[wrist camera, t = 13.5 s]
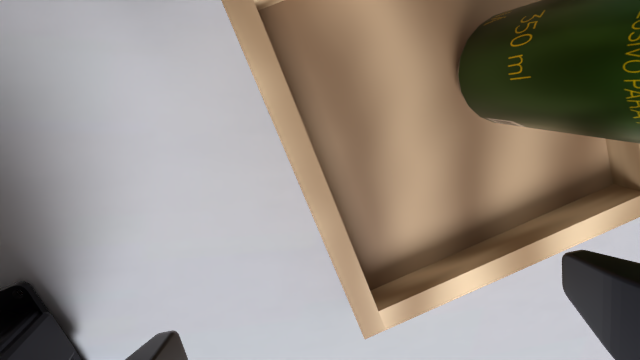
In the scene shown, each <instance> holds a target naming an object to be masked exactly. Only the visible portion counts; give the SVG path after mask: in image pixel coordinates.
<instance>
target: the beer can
mask: <svg viewBox="0 0 640 360" xmlns="http://www.w3.org/2000/svg"><path fill="white" fill-rule="evenodd" d="M457 79H458V85H459V90H460V92H461V93H462V95H463V97H464V99H465V101H466V103H467V105H468V106H469V107H470V108H471V109H472V110H473V111H474V112H475V113H476V114H477V115H478V116H479V117H481V118H484V119H486V120H489V121H491V122H493V123H500V124H507V125H514V126H521V127H528V128H535V129H542V130H549V131H556V132H563V133H570V134H577V135H584V136H591V137H598V138H605V139H612V140H619V141H626V142H633V143H640V0H541V1H538V2H534V3H531V4H528V5H525V6H522V7H519V8H516V9H513V10H509V11H506V12H503V13H500V14H497V15H494V16H492V17H491V18H489V19H488V20H486V21H485V22H483V23H482V24H480V25H479V26H478V27H477V29H476V30H475V31H474V32H473V34H472V35H471V36H470V37H469V39H468V40H467V42H466V44H465V46H464V48H463V50H462V53H461V55H460V57H459V61H458V69H457Z"/></svg>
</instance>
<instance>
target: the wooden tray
mask: <svg viewBox="0 0 640 360" xmlns="http://www.w3.org/2000/svg"><path fill="white" fill-rule="evenodd" d="M538 1H541V0H222V3H223V5H224V8H225V10H226V12H227V15H228V17H229V19H230V22H231V24H232V26H233V29H234V31H235V34H236V36H237V38H238V41H239V43H240V45H241V48H242V50H243V52H244V55H245V57H246V60H247V62H248V64H249V67H250V69H251V71H252V74H253V76H254V78H255V81H256V83H257V86H258V88H259V90H260V93H261V95H262V97H263V100H264V102H265V105H266V107H267V109H268V112H269V114H270V116H271V119H272V121H273V123H274V126H275V128H276V131H277V133H278V135H279V138H280V140H281V142H282V145H283V147H284V149H285V152H286V154H287V157H288V159H289V161H290V164H291V166H292V168H293V171H294V173H295V175H296V178H297V180H298V183H299V185H300V187H301V190H302V192H303V194H304V197H305V199H306V201H307V204H308V206H309V209H310V211H311V213H312V216H313V218H314V220H315V223H316V225H317V227H318V230H319V232H320V235H321V237H322V239H323V242H324V244H325V246H326V249H327V251H328V253H329V256H330V258H331V261H332V263H333V265H334V268H335V270H336V272H337V275H338V277H339V279H340V282H341V284H342V287H343V289H344V291H345V294H346V296H347V298H348V301H349V303H350V305H351V308H352V310H353V313H354V315H355V317H356V320H357V322H358V324H359V327H360V329H361V331H362V334H363V336H364V339H367V338H369V337H371V336H373V335H376V334H378V333H380V332H382V331H385V330H387V329H389V328H391V327H394V326H396V325H398V324H400V323H403V322H405V321H407V320H409V319H412V318H414V317H416V316H418V315H421V314H423V313H425V312H427V311H430V310H432V309H434V308H436V307H439V306H441V305H443V304H445V303H448V302H450V301H452V300H454V299H457V298H459V297H461V296H463V295H466V294H468V293H470V292H472V291H475V290H477V289H479V288H481V287H483V286H486V285H488V284H490V283H492V282H495V281H497V280H499V279H501V278H504V277H506V276H508V275H510V274H513V273H515V272H517V271H519V270H522V269H524V268H526V267H528V266H531V265H533V264H535V263H537V262H540V261H542V260H544V259H546V258H549V257H551V256H553V255H555V254H558V253H560V252H562V251H564V250H567V249H569V248H571V247H573V246H576V245H578V244H580V243H582V242H585V241H587V240H589V239H591V238H594V237H596V236H598V235H600V234H603V233H605V232H607V231H609V230H611V229H614V228H616V227H618V226H620V225H623V224H625V223H627V222H629V221H632V220H634V219H636V218H638V217H640V143H633V142H626V141H619V140H612V139H605V138H598V137H591V136H584V135H577V134H570V133H563V132H556V131H549V130H542V129H535V128H528V127H521V126H514V125H507V124H500V123H493V122H491V121H489V120H486V119H484V118H481V117H479V116H478V115H477V114H476V113H475V112H474V111H473V110H472V109H471V108H470V107H469V106H468V105H467V103H466V101H465V99H464V97H463V95H462V93H461V92H460V90H459V85H458V79H457V69H458V61H459V57H460V55H461V53H462V50H463V48H464V46H465V44H466V42H467V40H468V39H469V37H470V36H471V35H472V34H473V32H474V31H475V30H476V29H477V27H478V26H479V25H480V24H482V23H483V22H485V21H486V20H488V19H489V18H491V17H492V16H494V15H497V14H500V13H503V12H506V11H509V10H513V9H516V8H519V7H522V6H525V5H528V4H531V3H534V2H538Z"/></svg>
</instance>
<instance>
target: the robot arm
mask: <svg viewBox="0 0 640 360" xmlns="http://www.w3.org/2000/svg"><path fill="white" fill-rule="evenodd" d="M562 284H563V289H564V292H565V294H566V296H567V297H568V298H569V300H570V301H571V302H572V304H573V305H574V307H575V308H576V309H577V311H578V312H579V313H580V315H581V316H582V317H583V319H584V320H585V321H586V323H587V324H588V325H589V327H590V328H591V329H592V331H593V332H594V333H595V335H596V336H597V337H598V339H599V340H600V342H601V343H602V344H603V345H604V347H605V348H606V349H607V351H608V352H609V353H610V354H611V355H612V357H613V358H614V359H615V360H640V263H637V262H632V261H628V260H624V259H620V258H616V257H612V256H607V255H603V254H599V253H595V252H591V251H586V250H578V251H573V252H568V253H565V254H564V255H563V257H562ZM17 290H21V291H22V292H23V295H21V294H19V293H18V292H17ZM0 360H81V358H80V357H79V355H78V354H77V352H76V351H75V348H74V347H73V345H72V344H71V342H70V341H69V340H68V338H67V337H66V335H65V334H64V332H63V331H62V329H61V328H60V326H59V325H58V323H57V322H56V320H55V319H54V317H53V316H52V315H51V314H50V313H49V311H48V310H47V308H46V307H45V305H44V304H43V302H42V301H41V299H40V298H39V297H38V295H37V294H36V292H35V291H34V289H33V288H32V286H31V285H30V284H28V283H26V282H17V283H14V284H12V285H9V286H7V287H5V288H2V289H0ZM125 360H188V358H187V355H186V353H185V350H184V347H183V344H182V342H181V339H180V336H179V334H178V333H177V332H176V331H168V332H163V333H159V334H157V335H155V336H154V337H153V338H152V339H150V340H149V341H148V342H147V343H145V344H144V345H143V346H142V347H140V348H139V349H138V350H137V351H135V352H134V353H133V354H132V355H130V356H129V357H128V358H127V359H125Z"/></svg>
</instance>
